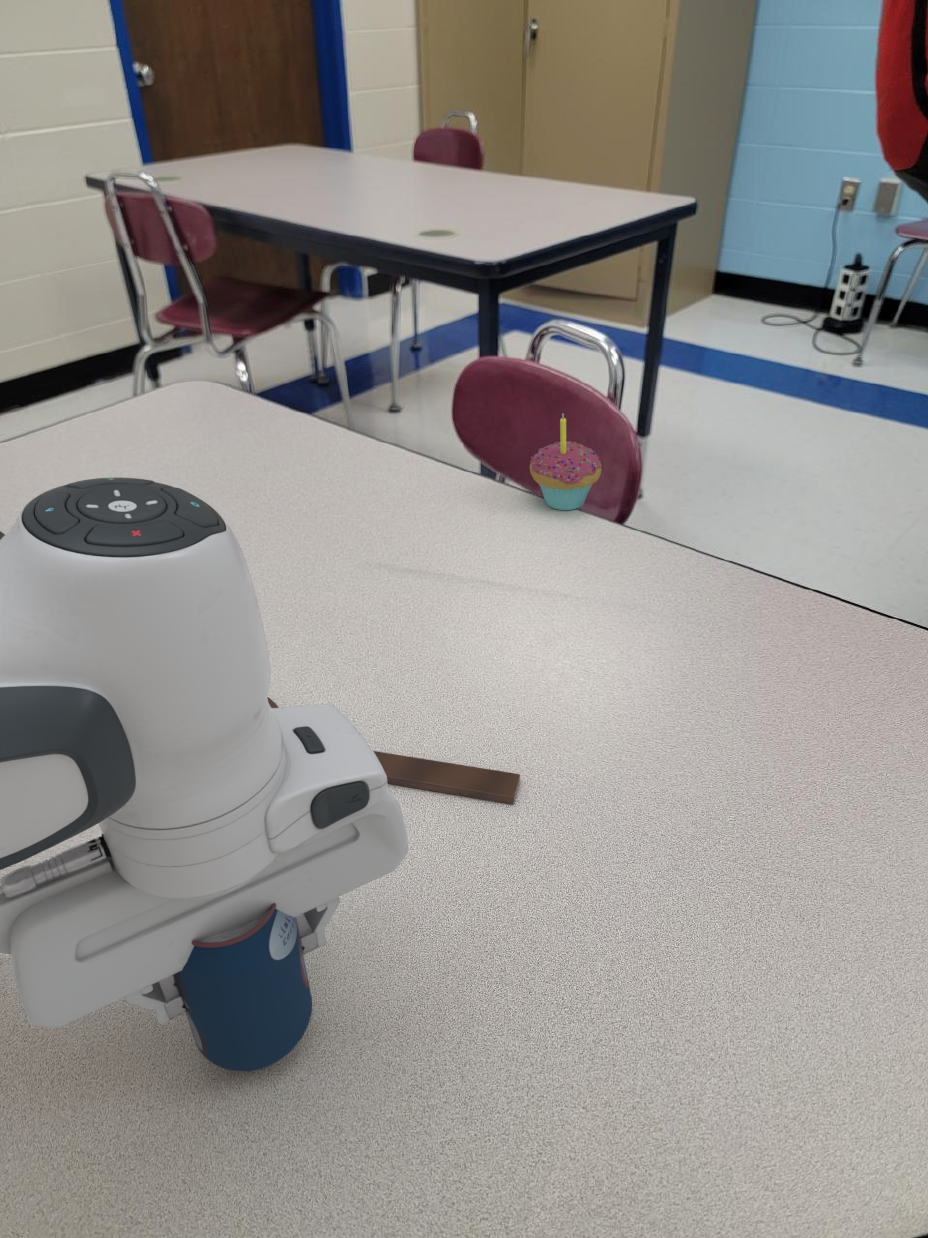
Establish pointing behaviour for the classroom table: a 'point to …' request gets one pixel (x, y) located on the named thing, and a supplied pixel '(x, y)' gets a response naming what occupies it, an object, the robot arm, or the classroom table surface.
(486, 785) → the serving spoon
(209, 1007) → the soda can
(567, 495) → the cupcake
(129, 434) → the classroom table surface
